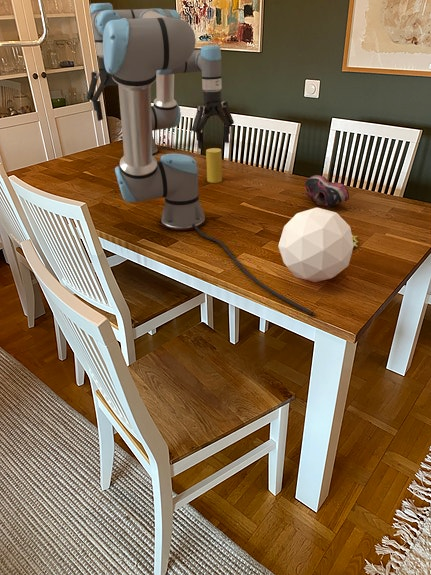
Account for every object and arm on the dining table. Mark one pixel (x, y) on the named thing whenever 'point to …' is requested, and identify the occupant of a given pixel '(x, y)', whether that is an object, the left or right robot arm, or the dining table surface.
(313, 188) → the athletic shoe
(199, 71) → the left robot arm
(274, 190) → the dining table surface
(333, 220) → the sphere
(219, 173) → the can
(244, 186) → the dining table surface
